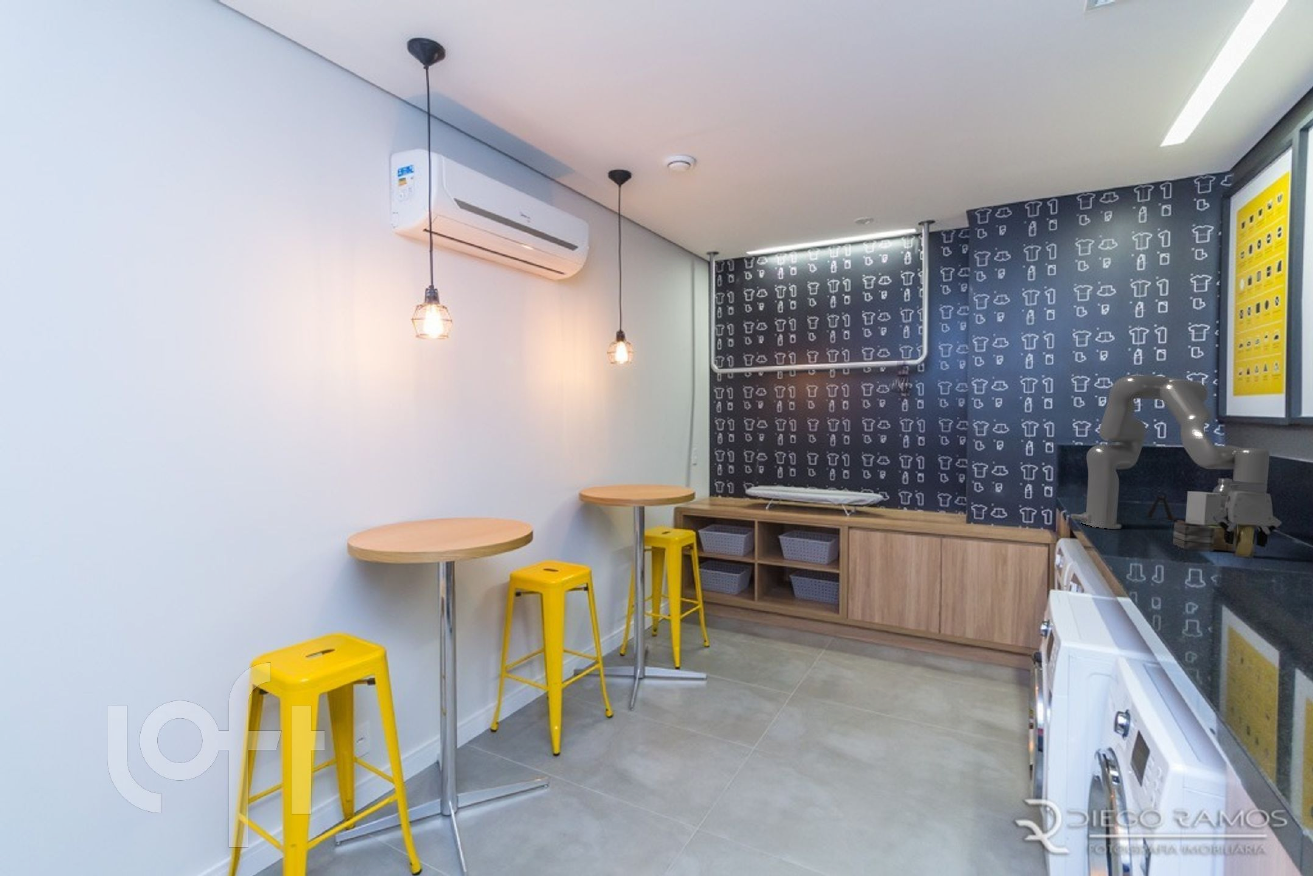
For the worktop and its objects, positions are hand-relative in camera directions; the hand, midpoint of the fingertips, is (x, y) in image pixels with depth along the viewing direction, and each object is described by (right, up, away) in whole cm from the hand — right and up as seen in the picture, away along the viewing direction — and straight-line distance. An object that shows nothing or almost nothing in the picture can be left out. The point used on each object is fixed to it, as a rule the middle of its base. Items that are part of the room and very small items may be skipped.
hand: (1244, 544), depth 184 cm
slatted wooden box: (-6, -3, +13) cm, 15 cm away
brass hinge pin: (0, -4, 0) cm, 4 cm away
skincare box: (+18, -3, +34) cm, 39 cm away
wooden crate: (-4, -3, +9) cm, 10 cm away
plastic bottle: (+32, -3, +42) cm, 53 cm away
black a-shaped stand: (+27, -1, +64) cm, 69 cm away
